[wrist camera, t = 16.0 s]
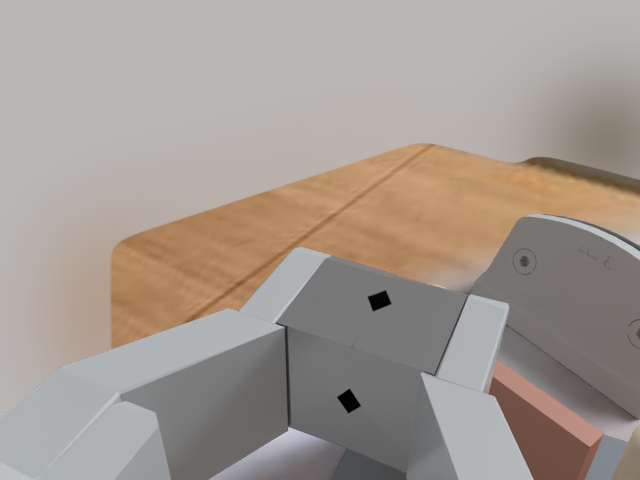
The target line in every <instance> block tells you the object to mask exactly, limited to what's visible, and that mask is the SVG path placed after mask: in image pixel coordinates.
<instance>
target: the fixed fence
mask: <svg viewBox="0 0 640 480" xmlns="http://www.w3.org/2000/svg"><path fill="white" fill-rule="evenodd" d="M611 480H640V426H639V427H637V428H636V429H635V430H634V431H633V433H632V436H631V438H630V440H629V442H628V444H627V446H626V449H625V451H624V453H623V455H622V457H621V459H620V462H619V464H618V466H617V468H616V470H615V472H614V474H613V477H612V479H611Z"/></svg>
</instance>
